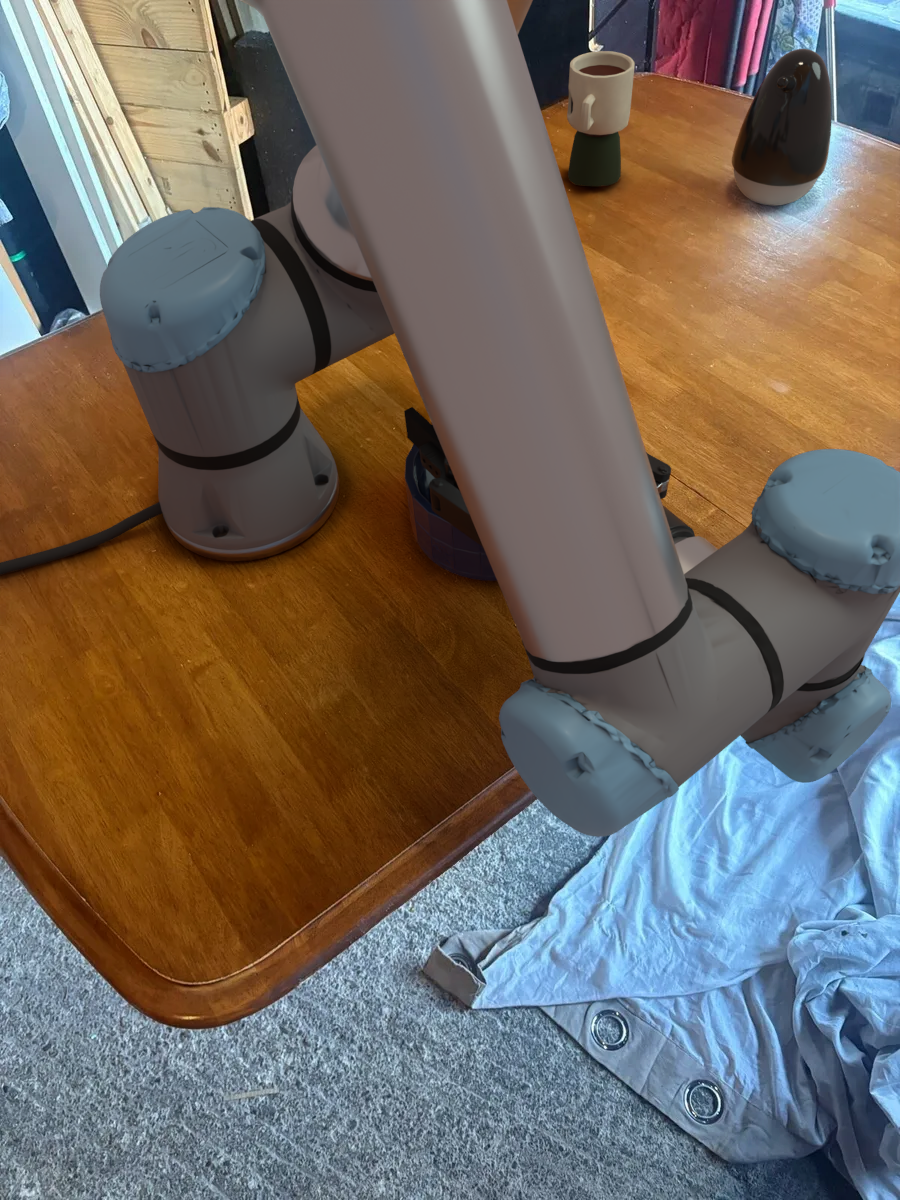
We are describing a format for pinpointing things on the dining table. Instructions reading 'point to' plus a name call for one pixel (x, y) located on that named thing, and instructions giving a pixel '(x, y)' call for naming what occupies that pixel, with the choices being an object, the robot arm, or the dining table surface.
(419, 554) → the dining table surface
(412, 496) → the pot
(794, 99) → the dark brown egg shape
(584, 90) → the character mug
